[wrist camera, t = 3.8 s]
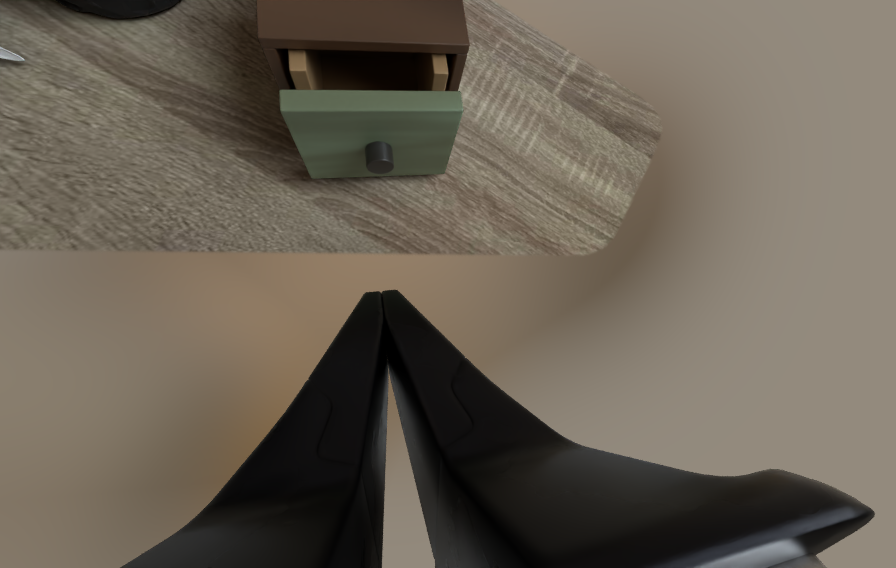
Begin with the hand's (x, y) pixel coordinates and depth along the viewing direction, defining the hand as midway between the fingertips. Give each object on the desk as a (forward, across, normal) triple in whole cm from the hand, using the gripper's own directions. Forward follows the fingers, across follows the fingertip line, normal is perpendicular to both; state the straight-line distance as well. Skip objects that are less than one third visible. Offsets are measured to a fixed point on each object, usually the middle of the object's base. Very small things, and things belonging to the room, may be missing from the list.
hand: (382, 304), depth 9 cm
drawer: (+19, -1, -1) cm, 19 cm away
